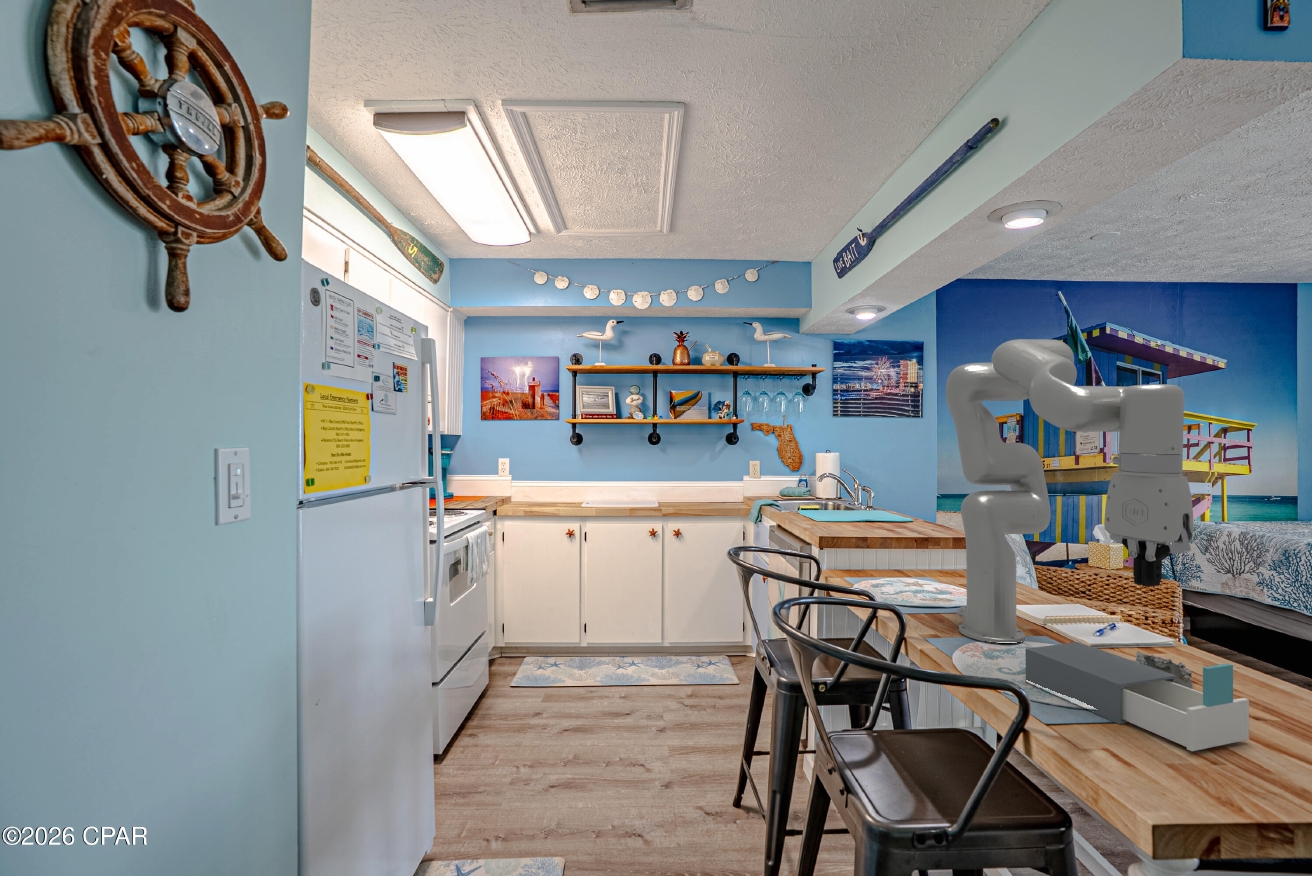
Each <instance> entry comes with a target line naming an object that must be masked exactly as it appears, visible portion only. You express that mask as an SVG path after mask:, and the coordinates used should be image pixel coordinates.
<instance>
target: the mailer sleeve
mask: <svg viewBox="0 0 1312 876" xmlns="http://www.w3.org/2000/svg"><path fill="white" fill-rule="evenodd" d="M1176 677H1177V676H1176V675H1173V674H1170V673H1167V672H1164V671H1161V670H1158V669H1155V668H1153V667H1150V666H1147V665H1144V664H1141V663H1138V662H1136V660H1135V661H1134V660H1132V659H1129V658H1126V657H1123V656H1120V655H1117V654H1115V653H1114V654H1113V653H1111V652H1108V651H1105V650H1102V649H1099V648H1096V647H1093V646H1092V645H1088V644H1084V643H1082V642H1078V641H1073V642H1066V643H1060V644H1059V643H1058V644H1050V645H1042V646H1036V647H1035V646H1034V647H1026V648H1025V681H1026V680H1028V681H1031V682H1033V683H1035V684H1038V685H1040V686H1042V687H1044V688H1048V689H1050V690H1052V691H1055V692H1057V693H1060V694H1062V695H1066V696H1068V697H1071V698H1075V699H1077V700H1079V701H1081V702H1084V703H1086V704H1087V705H1090V706H1093V707H1094V708H1096V709H1098V710H1096V711H1094V713H1093V714H1095V713H1096V714H1095V715H1097V714H1098V716H1099V715H1100V717H1102V716H1103V717H1102V718H1104V717H1105V718H1104V719H1106V718H1107V719H1106V720H1108V719H1109V720H1108V721H1111V722H1113V723H1115V724H1117V725H1124V724H1129V723H1130V722H1128V721H1126V720H1123V719H1122V687H1123V686H1129V685H1136V684H1142V683H1148V682H1155V681H1161V680H1168V681H1171V682H1174V683H1176ZM1130 724H1131V723H1130Z"/></svg>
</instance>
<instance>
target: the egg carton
mask: <svg viewBox="0 0 1312 876" xmlns="http://www.w3.org/2000/svg"><path fill="white" fill-rule="evenodd" d="M1135 662H1138V663H1141V664H1144V665H1147V666H1150V667H1153V668H1155V669H1158V670H1161V671H1164V672H1167V673H1170V674H1173V675H1176V684H1179V685H1182V686H1185V687H1188V688H1191V689H1194V688H1193V686H1194V685H1193V681H1192V680H1191V678H1192V677H1193V676H1192V675H1193V673H1192V672H1193V671H1192V670H1190V669H1188V668H1187V667H1186V665H1185V664H1184V663H1183V662H1182V661H1181V662H1178V663H1175V662H1173V661H1172V658H1167V659H1166V658H1164V657H1161V656H1155V655H1153V654H1151V655H1150V654H1149V655H1148V654H1145V653H1143V652H1141V651H1137V652H1136V653H1135Z"/></svg>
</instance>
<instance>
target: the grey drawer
mask: <svg viewBox="0 0 1312 876" xmlns="http://www.w3.org/2000/svg"><path fill="white" fill-rule="evenodd" d="M1122 719H1123V720H1126V721H1128V722H1130V724H1132V725H1135V726H1137V727H1139V728H1142V729H1144V730H1147V731H1149V732H1150V733H1151V732H1152V733H1154V734H1156V735H1158V736H1161V737H1163V738H1165V739H1167V740H1169V741H1172V742H1174V743H1176V744H1178V745H1181V746H1183V747H1186V750H1188V751H1190V752H1196V751H1200V750H1205V749H1210V748H1214V747H1219V746H1224V745H1230V744H1234V743H1238V742H1243V741H1248V740H1250V700H1249V698H1245V697H1240V698H1234V665H1233V664H1230V663H1222V664H1217V665H1216V664H1215V665H1209V666H1204V667H1202V691H1199V690H1196V689H1194V688H1193V689H1191V688H1188V687H1185V686H1182V685H1179V684H1176V683H1174V682H1171V681H1168V680H1161V681H1155V682H1148V683H1142V684H1136V685H1129V686H1123V687H1122Z"/></svg>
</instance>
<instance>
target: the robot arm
mask: <svg viewBox="0 0 1312 876" xmlns="http://www.w3.org/2000/svg"><path fill="white" fill-rule="evenodd" d="M990 361H991V362H971V363H970V362H969V363H965V364H961V365H959V366H957V367H955V368H954V369H952V371H951V372H950V373H949V375H948V377H947V380H946V384H945V399H946V404H947V407H948V410H949V413H950V416H951V418H952V419H953V423H954V427H955V430H956V437H957V443H958V449H959V450H958V451H959V456H960V457H959V458H960V463H961V469H962V473H963V476H964V479H966V481H967V482H968V483H971V484H972V485H973V484H974V485H980V486H1009V487H1010V489H1011V490H1005V489H1004V490H1003V489H1002V490H999V489H997V490H996V489H995V490H980V491H974V492H972V493H969V494H968V495H967V496H965V497H964V498H963V501H962V503H961V506H960V514H961V520H962V524H963V530H964V537H965V553H966V555H965V557H966V558H965V559H966V606H965V605H962V606H960V607H959V609H956V610H955V614H956V615H957V616H959V617H962V621H963V622H962V623H960V624H958V632H959V633H961V634H962V635H964V636H965V637H967V638H970V639H974V640H977V641H980V642H984V641H987V642H986V643H990V641H991V642H1021V641H1023V642H1025V640H1026V634H1025V632H1024V631H1022V630H1021V629H1019V628H1017V557H1016V554H1015V551H1014V548H1013V547H1012V545H1011V544H1010V543H1009V541H1008V539H1007V537H1006V536H1007V535H1035V534H1039V533H1042V532H1044V531H1045V530H1046V529H1047V528H1049V527H1048V526H1049V525H1050V522H1051V517H1052V516H1051V515H1052V513H1051V512H1052V511H1051V504H1050V499H1049V493H1048V487H1047V482H1046V477H1045V470H1044V467H1043V462H1042V460H1041V457H1040V455H1039V453H1038V451H1036V449H1035V448H1034V447H1032V446H1031V445H1029V444H1026V443H1022V442H1004V441H1003V439H1002V438H1001V433H1000V427H999V426H1000V425H999V423H998V421H997V418H996V417H995V416H994V414H993V413H992V412H991V410H989V409H988V408H987V407H986V406H985V405H984V404H983V402H984V401H986V402H987V401H989V402H990V401H991V402H1017V401H1018V402H1019V401H1024V400H1029V403H1030V406H1031V408H1032V410H1033V412H1034V413H1035V414H1036V415H1037V416H1039V417H1040V418H1041V419H1043V420H1045V421H1046V422H1048V423H1049V424H1051V425H1053V426H1055V427H1057V428H1059V429H1062V430H1064V431H1069V432H1077V433H1078V432H1084V433H1085V432H1093V433H1094V432H1101V433H1102V432H1105V433H1118V456H1116V455H1115V456H1113V457H1112V460H1111V462H1112V464H1113V465H1116V466H1117V469H1118V472H1113V473H1112V475H1111V478H1110V479H1109V484H1108V488H1107V493H1106V500H1105V508H1104V523H1103V525H1104V530H1105V531H1106V532H1107V533H1108V534H1109V538H1110V540H1112V541H1114V542H1116V543H1119V544H1122V545H1123V547H1124V548H1125V549H1126V550H1127V551H1128V554H1129V557H1130V558H1132V559H1133V562H1132V563H1133V564H1132V565H1133V566H1132V567H1133V569H1132V570H1133V571H1132V573H1133V574H1132V575H1133V583H1134V584H1135V585H1138V586H1142V587H1146V588H1147V587H1149V588H1150V587H1156V586H1157V587H1158V586H1160V585H1161V581H1162V575H1163V574H1162V570H1163V561H1165V560H1167V558H1168V557H1169V556H1170V555H1172V554H1184V553H1185V554H1186V553H1189V552H1191V546H1190V545H1191V544H1190V541H1191V540H1192V538H1193V534H1194V510H1193V509H1194V508H1193V501H1192V499H1193V498H1192V494H1191V488H1190V485H1189V480H1188V476H1183V465H1184V464H1183V463H1184V459H1183V458H1184V456H1183V455H1184V454H1183V453H1184V424H1185V423H1184V419H1185V415H1184V413H1185V392H1184V390H1183V389H1182V388H1181V387H1180V386H1179V385H1176V384H1168V383H1167V384H1165V383H1164V384H1163V383H1161V384H1156V383H1155V384H1136V385H1130V386H1129V385H1128V386H1115V385H1114V386H1110V385H1109V386H1108V385H1107V386H1105V385H1104V386H1103V385H1075V384H1076V380H1077V376H1078V371H1077V367H1076V366H1075V356H1074V352H1073V350H1072V348H1071V347H1070V346H1069V345H1068V344H1066V343H1065V342H1063V341H1061V340H1058V339H1048V338H1047V339H1046V338H1045V339H1040V338H1039V339H1035V338H1034V339H1033V338H1032V339H1029V338H1028V339H1026V338H1024V339H1023V338H1020V339H1019V338H1018V339H1011V340H1007V341H1005V342H1003V343H1001V344H1000V345H998V346H997V347H996V348H995V350H994V351H993V353H992V355H991V360H990ZM1021 643H1022V642H1021Z"/></svg>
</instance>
